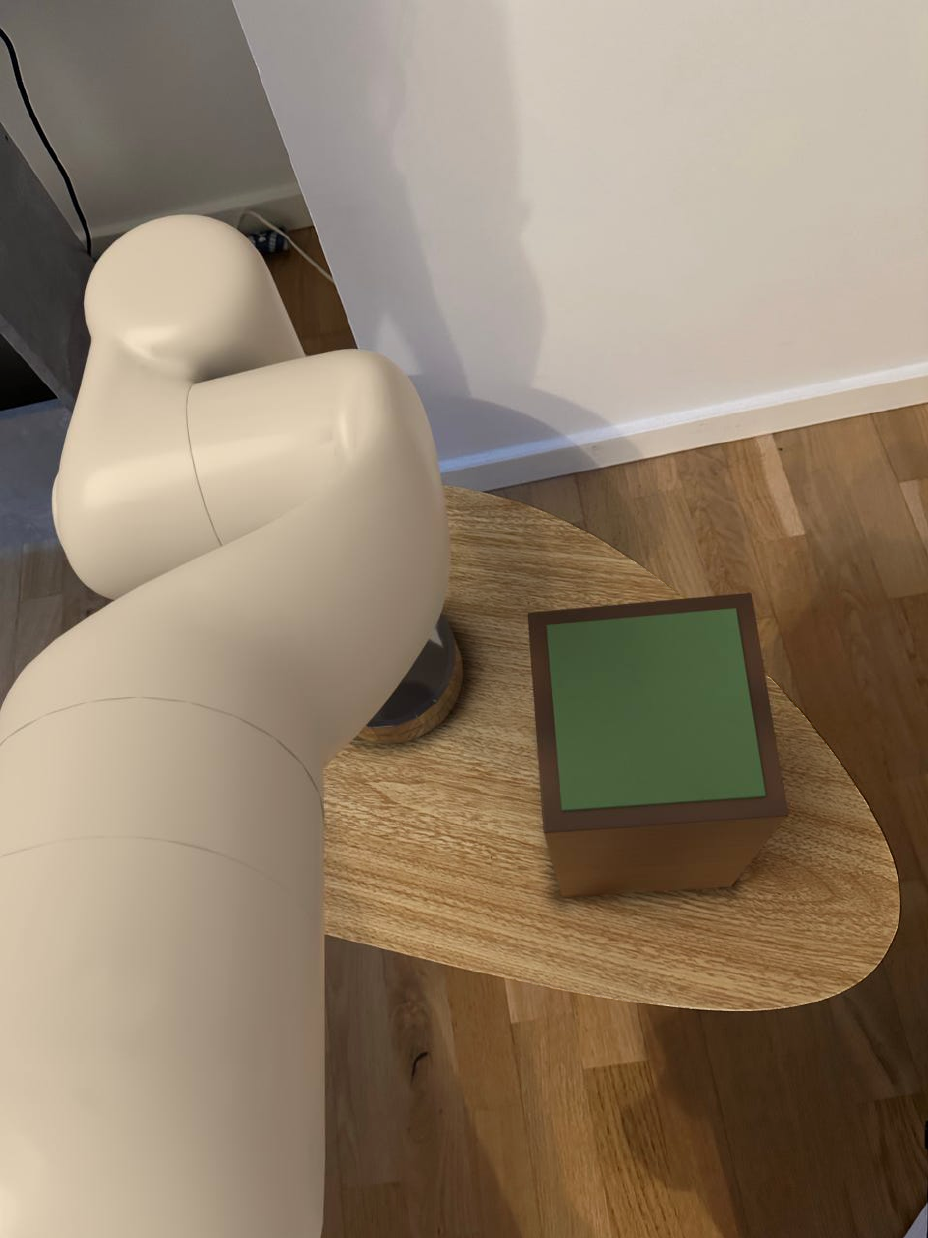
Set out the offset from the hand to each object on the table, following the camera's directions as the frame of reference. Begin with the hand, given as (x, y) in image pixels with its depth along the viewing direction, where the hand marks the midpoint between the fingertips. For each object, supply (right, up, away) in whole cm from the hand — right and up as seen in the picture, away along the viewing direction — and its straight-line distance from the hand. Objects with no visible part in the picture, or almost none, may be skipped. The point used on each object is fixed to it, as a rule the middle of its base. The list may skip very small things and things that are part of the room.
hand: (345, 597), depth 67 cm
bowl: (+2, -6, +16) cm, 17 cm away
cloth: (+17, -6, -14) cm, 23 cm away
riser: (+20, -15, +9) cm, 27 cm away
